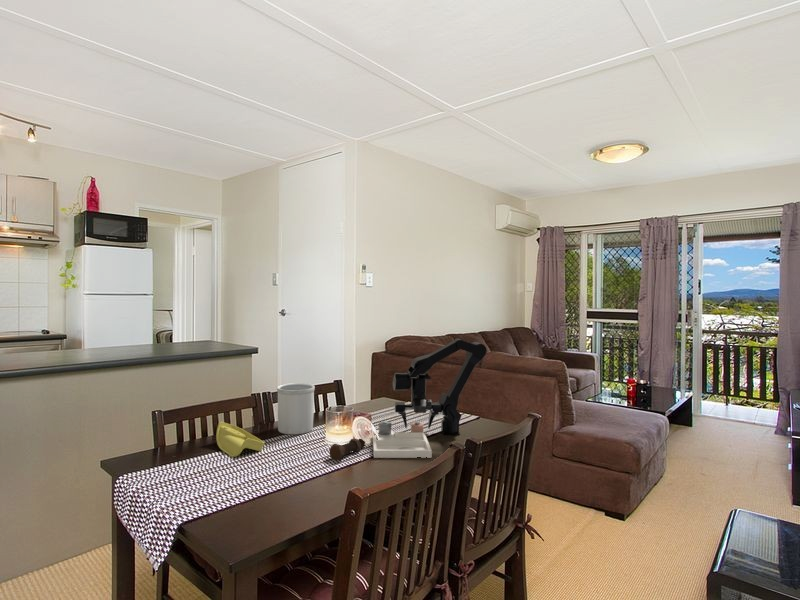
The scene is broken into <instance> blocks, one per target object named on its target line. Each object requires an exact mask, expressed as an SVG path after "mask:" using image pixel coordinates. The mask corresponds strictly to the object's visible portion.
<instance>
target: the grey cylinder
mask: <svg viewBox="0 0 800 600" xmlns="http://www.w3.org/2000/svg"><path fill="white" fill-rule="evenodd" d="M378 430H379V434H380V435H390V434H391V430H392V422H390V421H387V420H383V421H379V422H378Z"/></svg>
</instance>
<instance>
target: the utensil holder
mask: <svg viewBox="0 0 800 600" xmlns="http://www.w3.org/2000/svg"><path fill="white" fill-rule="evenodd" d="M315 388H316V387H315V384H312V383H307V382H306V383H305V382H292V383H291V382H290V383H284V384H281V385H278V386H277V387H276V391H277V431H278V432H279V433H281V434H285V435H302V434H306V433H310V432H311V431H313V429H314V402H315V401H314V400H315V390H316V389H315Z"/></svg>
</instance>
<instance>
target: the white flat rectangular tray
mask: <svg viewBox="0 0 800 600" xmlns="http://www.w3.org/2000/svg"><path fill="white" fill-rule="evenodd" d="M376 431H377V432H378V434H379V429H375V432H376ZM377 432H376V433H377ZM372 451H373V458H374V459H375V458H376V459H379V458H381V459H382V458H383V459H391V458H393V459H394V458H395V459H410V458H411V459H414V458H415V459H418V458H417V457H421V458H420V459H427V458H428V459H429V458H430V459H431V458H433V457H432V455H433V454H432V452H433V450H432V447H431V446H430V443H429V439H428V438H427V436H426V433H425V432H424V431H423V432H411V431H410V432H407V431H405V432H403V431H402V432H401V431H400V432H398V431H396V432H394V430H393V429H391V434H390V435H380V434H379V439H378V440H376V435H375V436H373V435H372ZM426 457H427V458H426Z"/></svg>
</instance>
